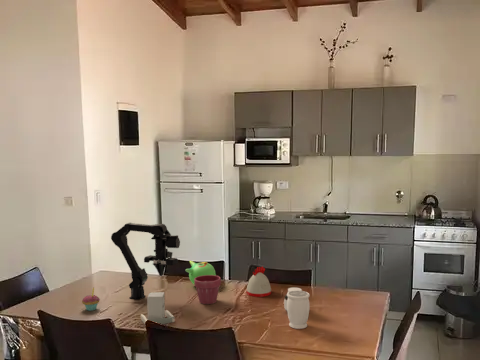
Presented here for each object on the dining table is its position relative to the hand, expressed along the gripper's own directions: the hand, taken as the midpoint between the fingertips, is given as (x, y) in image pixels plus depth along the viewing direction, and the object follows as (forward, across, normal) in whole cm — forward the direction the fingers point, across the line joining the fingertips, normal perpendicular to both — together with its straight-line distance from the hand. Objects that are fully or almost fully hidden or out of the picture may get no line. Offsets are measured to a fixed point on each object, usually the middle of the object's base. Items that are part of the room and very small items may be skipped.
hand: (161, 275), depth 253 cm
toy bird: (+13, -7, -31) cm, 34 cm away
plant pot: (+13, -25, -7) cm, 29 cm away
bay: (+13, -17, +27) cm, 34 cm away
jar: (+13, -80, +6) cm, 81 cm away
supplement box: (+13, -16, +27) cm, 34 cm away
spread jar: (+13, -72, -12) cm, 74 cm away
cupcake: (+13, +24, +28) cm, 39 cm away
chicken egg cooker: (+13, -44, -32) cm, 56 cm away
